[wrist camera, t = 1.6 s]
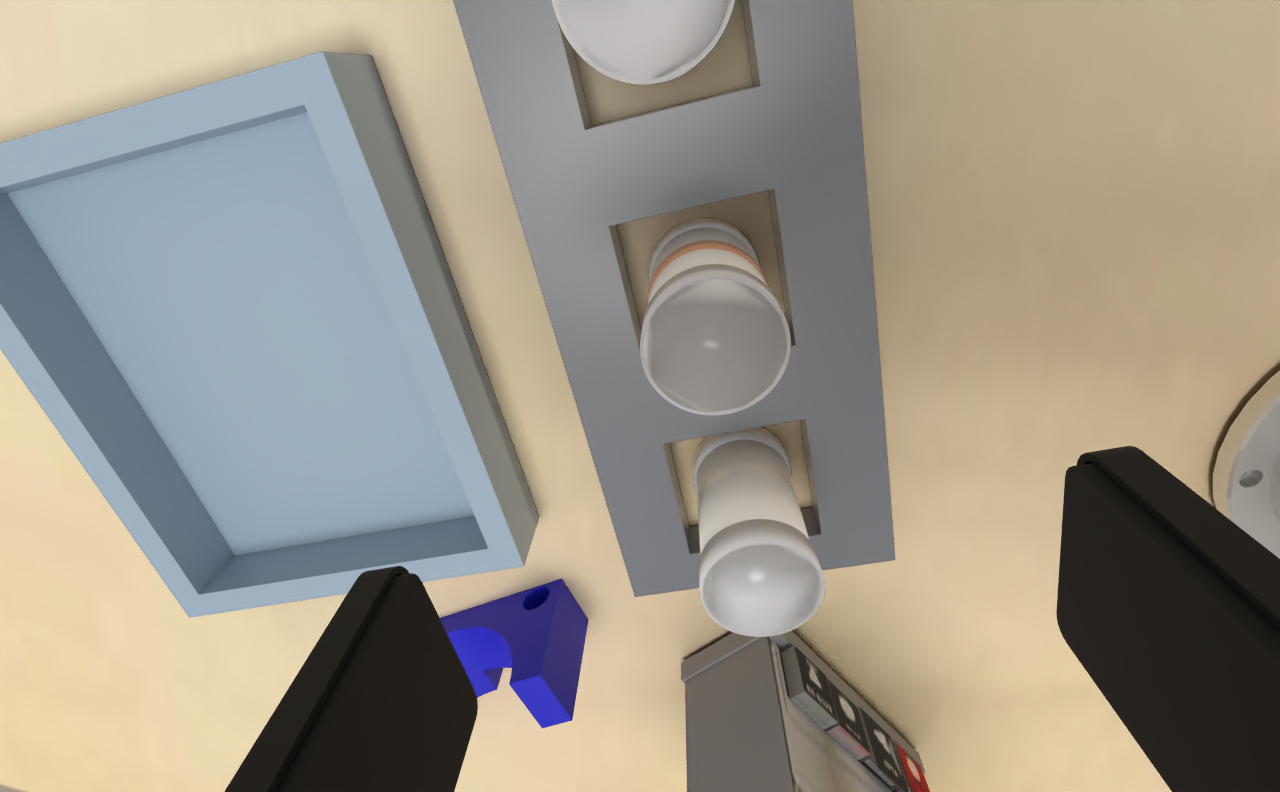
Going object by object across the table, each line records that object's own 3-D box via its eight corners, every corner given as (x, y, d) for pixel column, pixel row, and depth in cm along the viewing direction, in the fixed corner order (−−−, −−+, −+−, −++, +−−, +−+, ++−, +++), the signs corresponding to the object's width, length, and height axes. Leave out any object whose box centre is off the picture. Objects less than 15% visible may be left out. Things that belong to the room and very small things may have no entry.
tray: (371, 55, 22) (322, 51, 19) (539, 517, 31) (523, 566, 28) (-20, 165, 25) (-121, 177, 22) (235, 566, 33) (189, 617, 30)
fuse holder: (816, -234, 19) (831, -267, 17) (882, 531, 30) (895, 560, 28) (436, -113, 20) (412, -132, 18) (637, 567, 32) (635, 596, 30)
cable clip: (413, 693, 37) (368, 797, 32) (368, 639, 35) (313, 740, 30) (601, 637, 34) (587, 741, 29) (562, 576, 33) (539, 675, 27)
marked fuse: (748, 207, 24) (779, 260, 17) (764, 312, 26) (799, 401, 19) (638, 231, 25) (624, 293, 17) (661, 333, 26) (657, 426, 19)
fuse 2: (780, 416, 28) (817, 532, 21) (792, 495, 30) (831, 628, 22) (685, 432, 28) (688, 552, 21) (702, 509, 30) (711, 643, 23)
